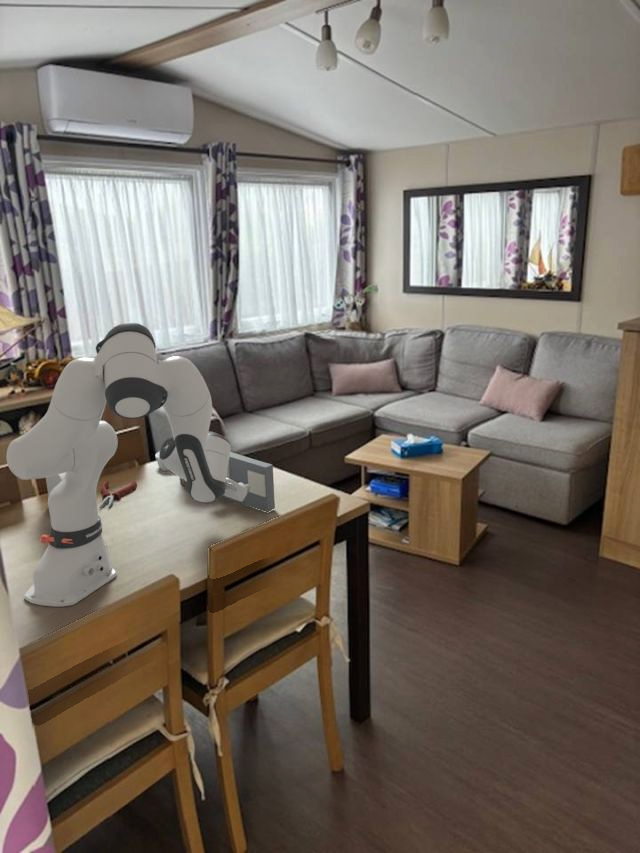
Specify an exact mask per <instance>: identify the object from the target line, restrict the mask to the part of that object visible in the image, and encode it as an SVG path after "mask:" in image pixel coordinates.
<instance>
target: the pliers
mask: <svg viewBox="0 0 640 853" xmlns="http://www.w3.org/2000/svg"><path fill="white" fill-rule="evenodd" d="M109 486H110V484H109V481H104V483H103V484H102V485H101V486H100V491H101V494H102V495H101V498H102V499H101V500H102V502H101V504H100V506H99V509H102V508H103V507H105V506H106V505H107V504H108V506H107V508H110V507H111V506H112V505H113V504H114V501H117V500H118V501H120V500H121V498H122V497H124V496H126V495H128V494H130V493H132V492H134V491H135V490H136V489H137V487H138V484H137V481H136V480H132V482H131V483H130V484H129V485H127V486H125V487H123V488H121V489H119V490H117V491H115V492H113V493H110V492H109V490H108V488H109ZM107 487H108V488H107ZM106 488H107V489H106Z"/></svg>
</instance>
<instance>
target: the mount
mask: <svg viewBox="0 0 640 853" xmlns="http://www.w3.org/2000/svg"><path fill="white" fill-rule="evenodd" d="M226 478H229V479H231V480H233V481H235V482H236V483H240V482H241V483H243V484H244V485H246V484H249V485H250V490H249V491H247V495H246V497H245V498H244V500H243V501H242V502H241V501H238V500H235V499H232V498H229V497H227V496H224V495H223V496H221V497H220V498H225V499H227V500H230V499H231V500H230V501H232V500H233V502H235V501H236V502H235V503H238V502H239V503H238V504H241V503H242V504H241V505H243V504H245V505H244V506H246V505H248V506H247V507H249V506H251V507H250V508H252V507H254V508H257V509H260V510H263V511H266V512H269V511H271V510H272V509H274V508H275V505H276V503H275V485H274V484H275V483H274V480H275V479H274V465H273V464H272V463H268V462H265V461H261V460H258V459H254V458H251V457H248V456H244V455H241V454H237V453H235V452H232V451H231V452H230V458H229V465H228V471H227V476H226ZM254 508H253V509H254ZM257 509H256V510H257ZM275 509H276V508H275ZM260 510H259V511H260Z"/></svg>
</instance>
